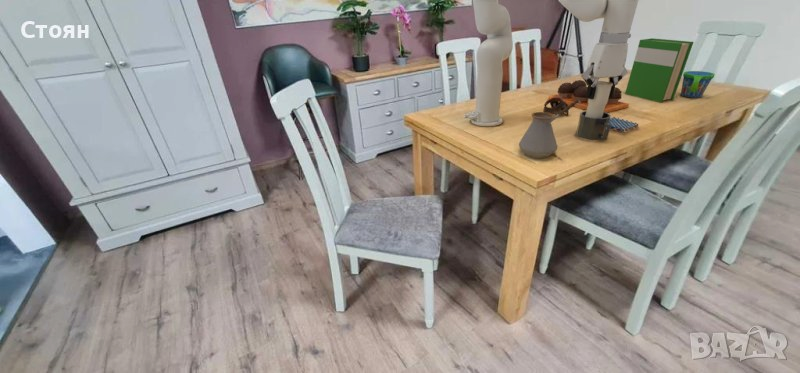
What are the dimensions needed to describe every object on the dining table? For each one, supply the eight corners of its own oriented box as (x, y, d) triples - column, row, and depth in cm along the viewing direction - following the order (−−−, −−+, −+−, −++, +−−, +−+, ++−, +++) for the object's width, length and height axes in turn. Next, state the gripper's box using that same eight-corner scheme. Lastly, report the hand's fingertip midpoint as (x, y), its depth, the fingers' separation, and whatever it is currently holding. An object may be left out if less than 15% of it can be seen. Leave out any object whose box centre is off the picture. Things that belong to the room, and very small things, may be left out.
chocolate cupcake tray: (628, 107, 143) (633, 87, 139) (601, 114, 137) (606, 93, 133) (573, 94, 165) (576, 76, 161) (548, 99, 159) (551, 81, 155)
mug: (570, 133, 121) (575, 112, 117) (593, 131, 122) (598, 109, 118) (592, 146, 111) (598, 123, 107) (617, 143, 111) (623, 120, 108)
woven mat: (594, 127, 125) (595, 121, 124) (611, 121, 130) (612, 116, 129) (621, 135, 117) (623, 129, 116) (639, 128, 122) (641, 123, 121)
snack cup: (680, 90, 160) (687, 68, 155) (708, 94, 153) (717, 71, 148) (672, 98, 151) (680, 74, 146) (702, 101, 144) (711, 77, 139)
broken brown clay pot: (573, 118, 136) (568, 103, 131) (549, 128, 139) (544, 113, 135) (564, 103, 144) (559, 88, 139) (542, 112, 148) (536, 98, 143)
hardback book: (673, 100, 148) (693, 41, 136) (660, 102, 146) (680, 43, 134) (636, 91, 163) (652, 38, 151) (624, 93, 161) (640, 39, 149)
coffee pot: (536, 164, 101) (544, 116, 94) (510, 151, 110) (515, 107, 103) (585, 148, 109) (596, 103, 102) (556, 138, 118) (564, 95, 111)
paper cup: (590, 123, 112) (599, 85, 106) (579, 118, 117) (587, 81, 111) (607, 122, 113) (617, 84, 106) (595, 116, 118) (604, 80, 112)
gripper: (630, 35, 106) (614, 92, 115) (579, 39, 104) (567, 96, 113) (648, 38, 100) (630, 98, 109) (595, 41, 98) (581, 102, 107)
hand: (598, 96), depth 111 cm, fingers closed on paper cup, 5 cm apart
